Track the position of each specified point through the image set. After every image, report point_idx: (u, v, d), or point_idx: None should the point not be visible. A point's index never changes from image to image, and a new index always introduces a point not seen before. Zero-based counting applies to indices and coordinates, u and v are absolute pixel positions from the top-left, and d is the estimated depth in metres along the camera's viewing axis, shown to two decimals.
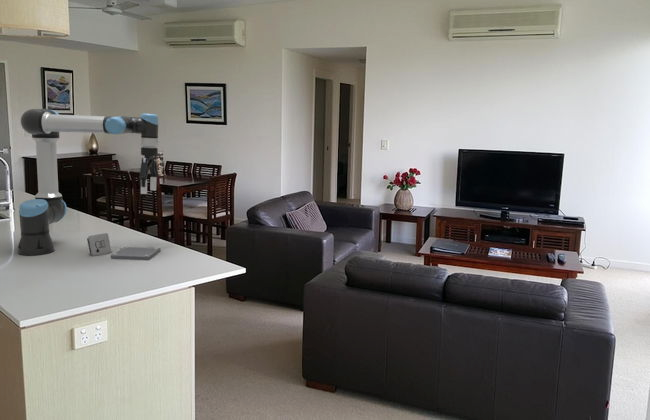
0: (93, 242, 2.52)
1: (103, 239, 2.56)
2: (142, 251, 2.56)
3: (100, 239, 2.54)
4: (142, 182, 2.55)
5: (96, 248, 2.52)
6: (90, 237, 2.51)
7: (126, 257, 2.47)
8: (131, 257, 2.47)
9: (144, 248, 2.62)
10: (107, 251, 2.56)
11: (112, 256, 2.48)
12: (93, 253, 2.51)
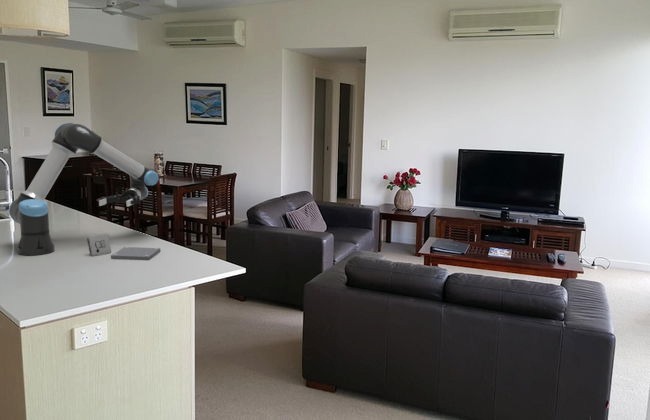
0: (93, 242, 2.52)
1: (103, 239, 2.56)
2: (142, 251, 2.56)
3: (100, 239, 2.54)
4: (134, 201, 2.75)
5: (96, 248, 2.52)
6: (90, 237, 2.51)
7: (126, 257, 2.47)
8: (131, 257, 2.47)
9: (144, 248, 2.62)
10: (107, 251, 2.56)
11: (112, 256, 2.48)
12: (93, 253, 2.51)
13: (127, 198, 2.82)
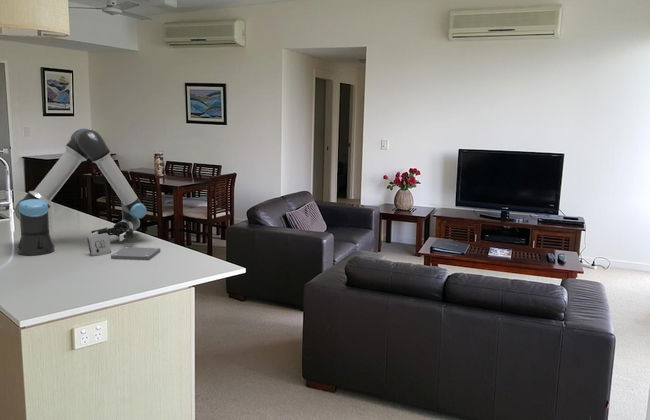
0: (93, 242, 2.52)
1: (103, 239, 2.56)
2: (142, 251, 2.56)
3: (100, 239, 2.54)
4: (127, 235, 2.67)
5: (96, 248, 2.52)
6: (90, 237, 2.51)
7: (126, 257, 2.47)
8: (131, 257, 2.47)
9: (144, 248, 2.62)
10: (107, 251, 2.56)
11: (112, 256, 2.48)
12: (93, 253, 2.51)
13: (119, 231, 2.74)
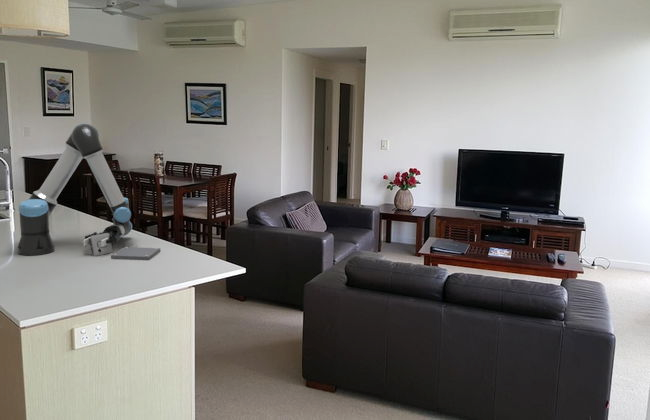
0: (95, 242, 2.52)
1: None
2: (142, 251, 2.56)
3: (101, 239, 2.54)
4: (110, 240, 2.55)
5: (98, 248, 2.52)
6: (92, 237, 2.51)
7: (126, 257, 2.47)
8: (131, 257, 2.47)
9: (144, 248, 2.62)
10: (109, 251, 2.56)
11: (112, 256, 2.48)
12: (95, 253, 2.51)
13: (110, 235, 2.63)
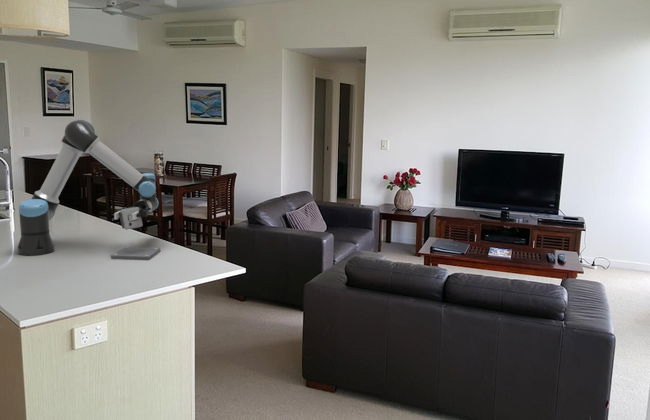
0: (126, 216, 2.50)
1: None
2: (142, 251, 2.56)
3: (132, 213, 2.53)
4: (140, 214, 2.53)
5: (129, 222, 2.51)
6: (123, 210, 2.49)
7: (126, 257, 2.47)
8: (131, 257, 2.47)
9: (144, 248, 2.62)
10: (139, 225, 2.55)
11: (112, 256, 2.48)
12: (126, 227, 2.49)
13: None
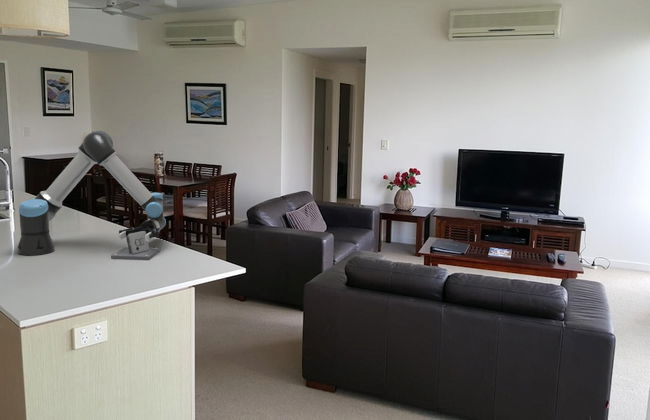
0: (133, 240, 2.51)
1: (142, 237, 2.55)
2: None
3: (139, 237, 2.54)
4: (153, 235, 2.55)
5: (136, 246, 2.52)
6: (130, 235, 2.50)
7: (126, 257, 2.47)
8: (131, 257, 2.47)
9: None
10: (146, 249, 2.56)
11: (112, 256, 2.48)
12: (134, 251, 2.50)
13: (146, 230, 2.62)
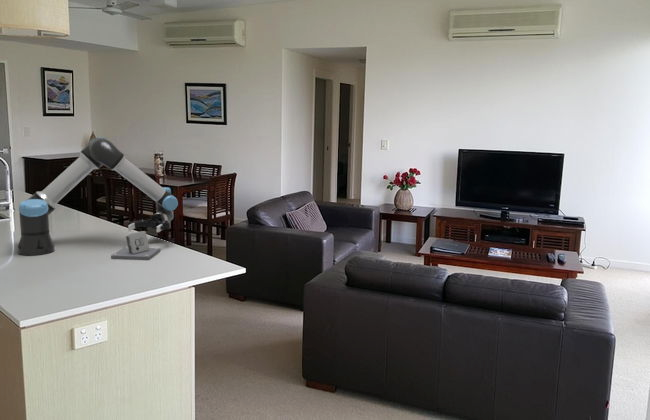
0: (133, 240, 2.51)
1: (142, 237, 2.55)
2: None
3: (139, 237, 2.54)
4: (164, 227, 2.69)
5: (136, 246, 2.52)
6: (130, 235, 2.50)
7: (126, 257, 2.47)
8: (131, 257, 2.47)
9: None
10: (146, 249, 2.56)
11: (112, 256, 2.48)
12: (134, 251, 2.50)
13: (155, 223, 2.76)
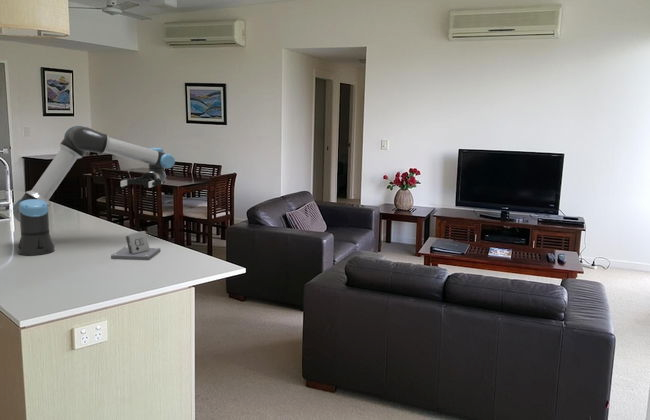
0: (133, 240, 2.51)
1: (142, 237, 2.55)
2: None
3: (139, 237, 2.54)
4: (156, 183, 2.74)
5: (136, 246, 2.52)
6: (130, 235, 2.50)
7: (126, 257, 2.47)
8: (131, 257, 2.47)
9: None
10: (146, 249, 2.56)
11: (112, 256, 2.48)
12: (134, 251, 2.50)
13: (147, 180, 2.81)
